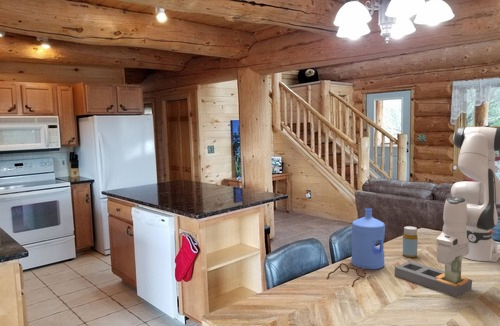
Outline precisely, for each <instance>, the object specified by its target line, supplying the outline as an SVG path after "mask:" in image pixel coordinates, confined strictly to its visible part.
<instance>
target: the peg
mask: <svg viewBox="0 0 500 326" xmlns="http://www.w3.org/2000/svg"><path fill="white" fill-rule="evenodd" d="M462 259H463V257H462V256H458V257H456V258H455V260H454V261H452V264H451V266H452V267H453V270H452V271H447V270H446V268H447V266H446V264H444V271H445V281H448V282H451V283H454V284H457V283H459V282H461V276H462V261H463V260H462Z"/></svg>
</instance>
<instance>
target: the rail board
mask: <svg viewBox="0 0 500 326" xmlns="http://www.w3.org/2000/svg"><path fill="white" fill-rule="evenodd" d="M394 276H395V277H397V276H398V277H397V278H400V279H403V280H406V281H409V282H412V283H415V284H417V285H420V286H423V287H426V288H429V289H432V290H435V291H437V292H440V293H444V294H446V295H449V296H452V297H454V298H458V297H460V296H462V295H464V294H465V293H468V292H469V291H471V290H472V289H473V287H472V286H473V285H472V284H473V279H470V278H468V277H465V276H462V275H461V282H459V283H457V284H454V283H451V282H448V281H445V270H444V271H443V270H441V269H438V268H434V267H431V266H429V265H425V264H421V263H418V262H414V261H413V260H412V261H411V260H409V261H407V262H404V263H402V264H399V265H397V266H396V265H395V267H394Z"/></svg>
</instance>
